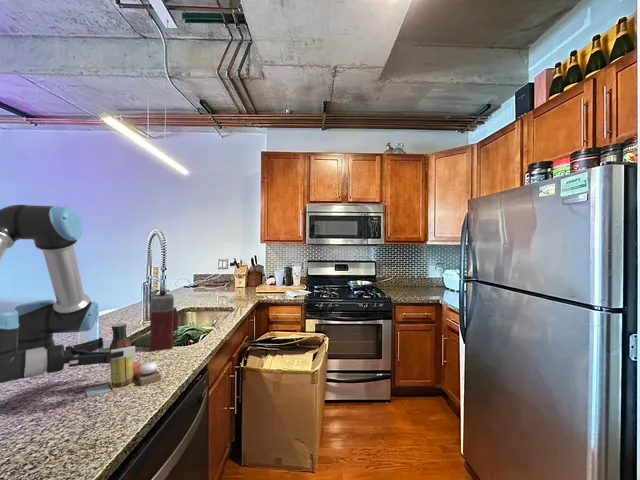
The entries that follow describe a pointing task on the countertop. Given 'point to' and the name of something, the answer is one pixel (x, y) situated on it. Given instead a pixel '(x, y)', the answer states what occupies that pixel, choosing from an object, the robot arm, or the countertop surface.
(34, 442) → the countertop surface
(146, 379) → the brown flat block
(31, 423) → the countertop surface
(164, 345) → the dark red rectangular canister
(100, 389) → the square
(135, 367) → the die
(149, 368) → the dome
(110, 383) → the square
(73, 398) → the countertop surface
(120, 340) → the sauce bottle
